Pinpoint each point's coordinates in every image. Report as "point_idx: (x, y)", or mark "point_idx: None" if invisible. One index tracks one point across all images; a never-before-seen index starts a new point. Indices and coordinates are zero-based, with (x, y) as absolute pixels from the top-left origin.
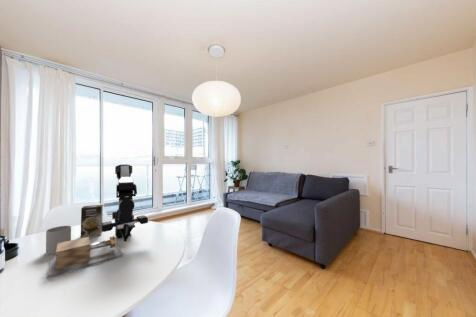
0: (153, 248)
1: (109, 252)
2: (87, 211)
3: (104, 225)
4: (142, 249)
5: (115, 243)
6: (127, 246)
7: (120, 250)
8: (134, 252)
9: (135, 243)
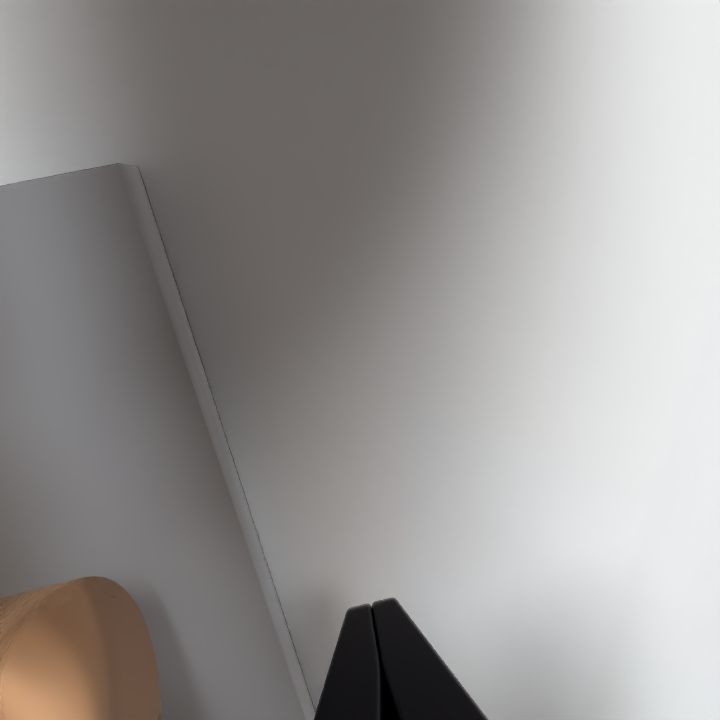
0: (716, 648)
1: None
2: None
3: None
4: (588, 627)
5: (118, 249)
6: (393, 419)
7: (283, 657)
8: (475, 675)
9: (547, 337)
